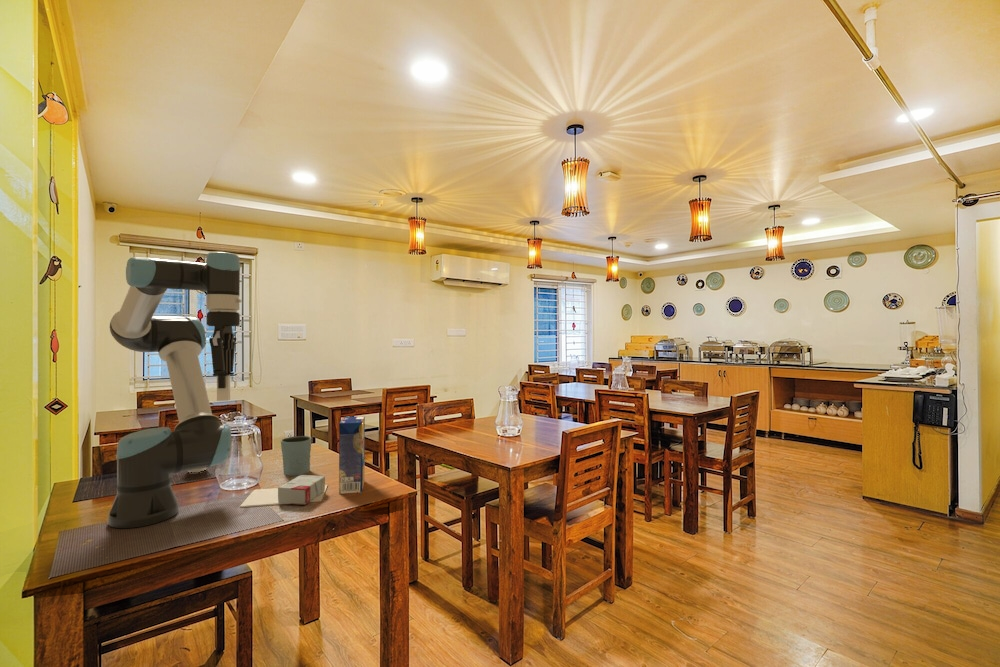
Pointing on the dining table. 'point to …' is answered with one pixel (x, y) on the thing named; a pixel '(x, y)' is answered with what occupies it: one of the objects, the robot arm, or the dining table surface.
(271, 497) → the mat
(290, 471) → the green tapered cup
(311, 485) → the ink box
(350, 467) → the beverage box
